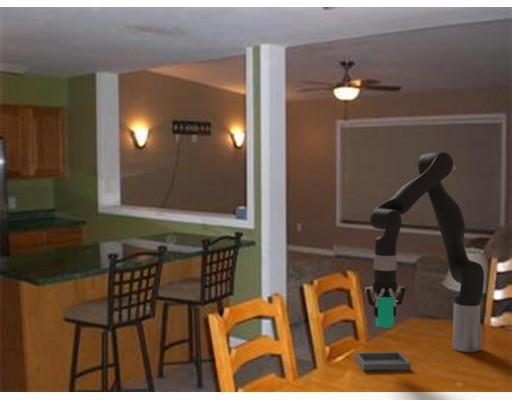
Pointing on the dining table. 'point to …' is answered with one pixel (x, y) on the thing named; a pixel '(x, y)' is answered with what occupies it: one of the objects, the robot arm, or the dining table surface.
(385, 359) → the tray
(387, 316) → the candle
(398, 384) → the dining table surface
